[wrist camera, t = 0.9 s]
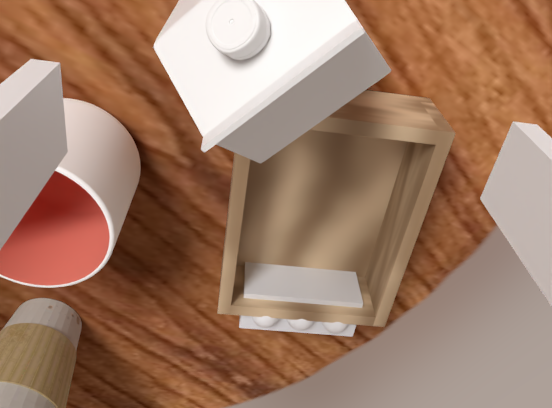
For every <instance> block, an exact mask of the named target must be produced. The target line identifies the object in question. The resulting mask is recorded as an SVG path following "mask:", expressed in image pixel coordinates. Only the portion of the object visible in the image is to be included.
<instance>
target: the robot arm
mask: <svg viewBox="0 0 552 408" xmlns="http://www.w3.org/2000/svg"><path fill="white" fill-rule="evenodd" d="M67 152H68V149H67V137H66V126H65V114H64V103H63V91H62V80H61V68H60V63H58V62H50V61H42V60H35V59H30V60H29V61H28V62H27V63H26V64H24V65H23V66H22V67H21V68H19V69H18V70H17V71H16V72H15V73H13V74H12V75H11V76H10V77H9V78H7V79H6V80H5V81H4V82H2V83H1V84H0V250H1V248H2V247H3V245H4V244H5V243H6V241H7V240H8V238H9V237H10V235H11V234H12V232H13V231H14V229H15V228H16V227H17V225H18V224H19V222H20V221H21V219H22V218H23V216H24V215H25V213H26V212H27V211H28V209H29V208H30V206H31V205H32V203H33V202H34V200H35V199H36V197H37V196H38V195H39V193H40V192H41V190H42V189H43V187H44V186H45V184H46V183H47V181H48V180H49V179H50V177H51V176H52V174H53V173H54V171H55V170H56V168H57V167H58V165H59V164H60V163H61V161H62V160H63V158H64V157H65V155H66V154H67ZM480 200H481V201H482V203H483V204H484V206H485V207H486V209H487V210H488V212H489V213H490V215H491V216H492V218H493V219H494V221H495V222H496V224H497V225H498V227H499V228H500V230H501V231H502V233H503V234H504V236H505V237H506V239H507V240H508V242H509V243H510V244H511V246H512V248H513V249H514V251H515V252H516V254H517V255H518V257H519V258H520V260H521V261H522V263H523V264H524V266H525V267H526V269H527V270H528V272H529V273H530V275H531V276H532V278H533V279H534V281H535V282H536V284H537V285H538V287H539V288H540V290H541V292H542V293H543V294H544V296H545V298H546V299H547V301H548V302H549V303H550V305H551V307H552V138H551V137H550V136H549V135H548V134H547V133H546V132H544V131H543V130H542V129H541V128H540V127H539V126H538V125H536V124H528V123H520V122H513V123H512V125H511V127H510V130H509V132H508V134H507V137H506V139H505V141H504V144H503V146H502V148H501V151H500V153H499V155H498V158H497V160H496V162H495V165H494V167H493V169H492V172H491V174H490V176H489V179H488V181H487V183H486V186H485V188H484V190H483V193H482V195H481V197H480Z"/></svg>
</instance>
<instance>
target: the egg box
mask: <svg viewBox="0 0 552 408" xmlns="http://www.w3.org/2000/svg"><path fill="white" fill-rule="evenodd" d="M244 298H250V299H262V300H274V301H286V302H298V303H310V304H322V305H333V306H345V307H357V308H362V306H363V300H362V296H361V292H360V288H359V284H358V279H357V275H356V272H350V271H339V270H328V269H317V268H306V267H295V266H284V265H273V264H262V263H251V262H245V270H244ZM239 328H248V329H261V330H274V331H287V332H300V333H313V334H326V335H338V336H351V337H353V334H354V331H355V328H356V325H354V324H343V323H341V322H334V323H329V322H316V321H307V320H305V319H298V320H291V319H279V318H271V317H269V316H263V317H254V316H242V315H240V319H239Z"/></svg>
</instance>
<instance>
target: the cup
mask: <svg viewBox="0 0 552 408" xmlns="http://www.w3.org/2000/svg"><path fill="white" fill-rule="evenodd" d="M63 103H64V114H65V126H66V137H67V149H68V152H67V154H66V155H65V157H64V158H63V160H62V161H61V163H60V164H59V165H58V167H57V168H56V170H55V171H54V173H53V174H52V176H51V177H50V179H49V180H48V181H47V183H46V184H45V186H44V187H43V189H42V190H41V192H40V193H39V195H38V196H37V197H36V199H35V200H34V202H33V203H32V205H31V206H30V208H29V209H28V211H27V212H26V213H25V215H24V216H23V218H22V219H21V221H20V222H19V224H18V225H17V227H16V228H15V229H14V231H13V232H12V234H11V235H10V237H9V238H8V240H7V241H6V243H5V244H4V245H3V247H2V248H1V250H0V277H3V278H5V279H7V280H10V281H13V282H16V283H19V284H23V285H28V286H34V287H45V288H55V287H64V286H69V285H73V284H77V283H79V282H82V281H84V280H86V279H88V278H90V277H92V276H93V275H95V274H96V273H97V272H99V271H100V270H101V269H102V268H103V267H104V265H105V264H106V263H107V262H108V260H109V258H110V256H111V254H112V252H113V249H114V246H115V244H116V241H117V238H118V236H119V233H120V231H121V228H122V225H123V223H124V220H125V217H126V215H127V212H128V209H129V207H130V204H131V201H132V199H133V196H134V194H135V191H136V188H137V185H138V182H139V178H140V171H141V164H140V157H139V152H138V150H137V147H136V144H135V142H134V140H133V138H132V137H131V135H130V134H129V132H128V131H127V130H126V128H125V127H124V126H123V125H122V124H121V123H120V122H119V121H118V120H117V119H116V118H115V117H113V116H112V115H111V114H109V113H108V112H106V111H105V110H103V109H101V108H99V107H97V106H95V105H93V104H90V103H87V102H84V101H80V100H76V99H69V98H63Z"/></svg>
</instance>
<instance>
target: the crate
mask: <svg viewBox="0 0 552 408" xmlns="http://www.w3.org/2000/svg"><path fill="white" fill-rule="evenodd" d="M454 136H455V131H454V130H453V129H452V127H451V126H450V125H449V123H448V122H447V121H446V119H445V118H444V117H443V115H442V114H441V113H440V111H439V110H438V109H437V107H436V106H435V105H434V103H433V102H432V101H431V99H430V98H424V97H416V96H408V95H400V94H393V93H385V92H377V91H370V90H365V91H363V92H362V93H361V94H359V95H358V96H356V97H355V98H354V99H352V100H351V101H349V102H348V103H346V104H345V105H344V106H342V107H341V108H339V109H338V110H337V111H335V112H334V113H332V114H331V115H330V116H328V117H327V118H325V119H324V120H322V121H321V122H320V123H318V124H317V125H315V126H314V127H313V128H311V129H310V130H308V131H307V132H305V133H304V134H303V135H301V136H300V137H298V138H297V139H296V140H294V141H293V142H291V143H290V144H288V145H287V146H286V147H284V148H283V149H281V150H280V151H279V152H277V153H276V154H274V155H273V156H271V157H270V158H269V159H267V160H266V161H264V162H262V163H258V162H255V161H253V160H251V159H249V158H246V157H244V156H242V155H239V154H237V153H235V152H234V160H233V169H232V178H231V187H230V196H229V205H228V214H227V223H226V232H225V241H224V250H223V259H222V268H221V279H220V290H219V302H218V313H217V314H229V315H242V316H254V317H263V316H269V317H271V318H279V319H291V320H298V319H305V320H307V321H316V322H329V323H334V322H341V323H343V324H354V325H366V326H378V327H385V324H386V321H387V319H388V316H389V313H390V310H391V308H392V305H393V302H394V299H395V297H396V294H397V291H398V289H399V286H400V283H401V280H402V278H403V275H404V272H405V270H406V267H407V264H408V261H409V259H410V256H411V253H412V250H413V248H414V245H415V242H416V240H417V237H418V234H419V231H420V229H421V226H422V223H423V220H424V218H425V215H426V212H427V210H428V207H429V204H430V201H431V199H432V196H433V193H434V191H435V188H436V185H437V182H438V180H439V177H440V174H441V171H442V169H443V166H444V163H445V161H446V158H447V155H448V152H449V150H450V147H451V144H452V141H453V139H454ZM245 262H251V263H262V264H273V265H284V266H295V267H306V268H317V269H328V270H339V271H350V272H356V275H357V279H358V284H359V288H360V292H361V296H362V300H363V306H362V308H357V307H345V306H333V305H322V304H310V303H298V302H286V301H274V300H262V299H250V298H244V270H245Z"/></svg>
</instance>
